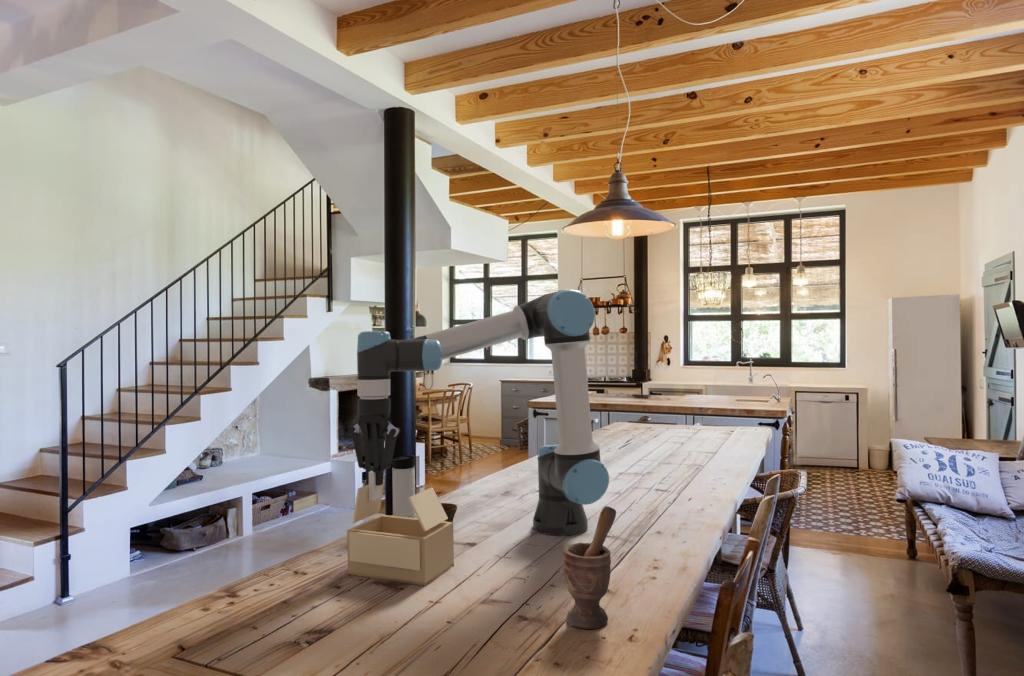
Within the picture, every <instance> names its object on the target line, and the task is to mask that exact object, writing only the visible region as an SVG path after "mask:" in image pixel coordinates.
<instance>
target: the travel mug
mask: <svg viewBox="0 0 1024 676" xmlns="http://www.w3.org/2000/svg"><path fill="white" fill-rule="evenodd" d="M415 459H416V455H415V454H413V455H412V454H411V455H404V456H402V455H401V456H398V457H395V458H392V463H391V467H392V469H391V471H392V472H391V473H392V477H391V478H392V516H398V517H407V518H416V514H415V512H414V510H413V507H412V505H411V503H410V501H409V499H408V498H409V497H411V496H413V495H416V486H415V485H416V477H415V476H416V473H415V472H416V470H415Z"/></svg>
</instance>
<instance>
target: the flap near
mask: <svg viewBox="0 0 1024 676" xmlns="http://www.w3.org/2000/svg"><path fill="white" fill-rule="evenodd" d="M408 499H409V501H410V503H411V505H412V507H413V510H414V512H415V517H416V518H417V519H418V520H419V522H420V524H421V526H422V528H423V530H424V532H425V531H427V530H429V529H430V528H432V527H434V526H436V525H437V524H439V523H441V522H443V521H445V520H446V519H448V517H447V515H446V513H445V511H444V509H443V507H442V505H441V503H442V502H441V501H440V499H439V497H438V495H437V494H436V492H435V489H434V488H433V487H432V486H431V487H429V488H427V489H426V490H425V489H424V490H422V491H421V492H418V493H415V495H413V496H411V497H409V498H408Z"/></svg>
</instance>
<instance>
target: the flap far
mask: <svg viewBox="0 0 1024 676" xmlns="http://www.w3.org/2000/svg"><path fill="white" fill-rule="evenodd" d="M385 481H386V480H385V479H384V478H383V484H382V485H381V498H379V499H377V500H374V501H373V500H369V485H367V484H366V485H363V486H361V487H359V488H357V492H356V498H355V505H354V510H353V515H352V523H353V524H356V523H358V522H360V521H363V520H365V519H366V518H370V517H372V516H374V515H376V514H378V513H380V512H381V506H382V499H383V494H384V488H385Z"/></svg>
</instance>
